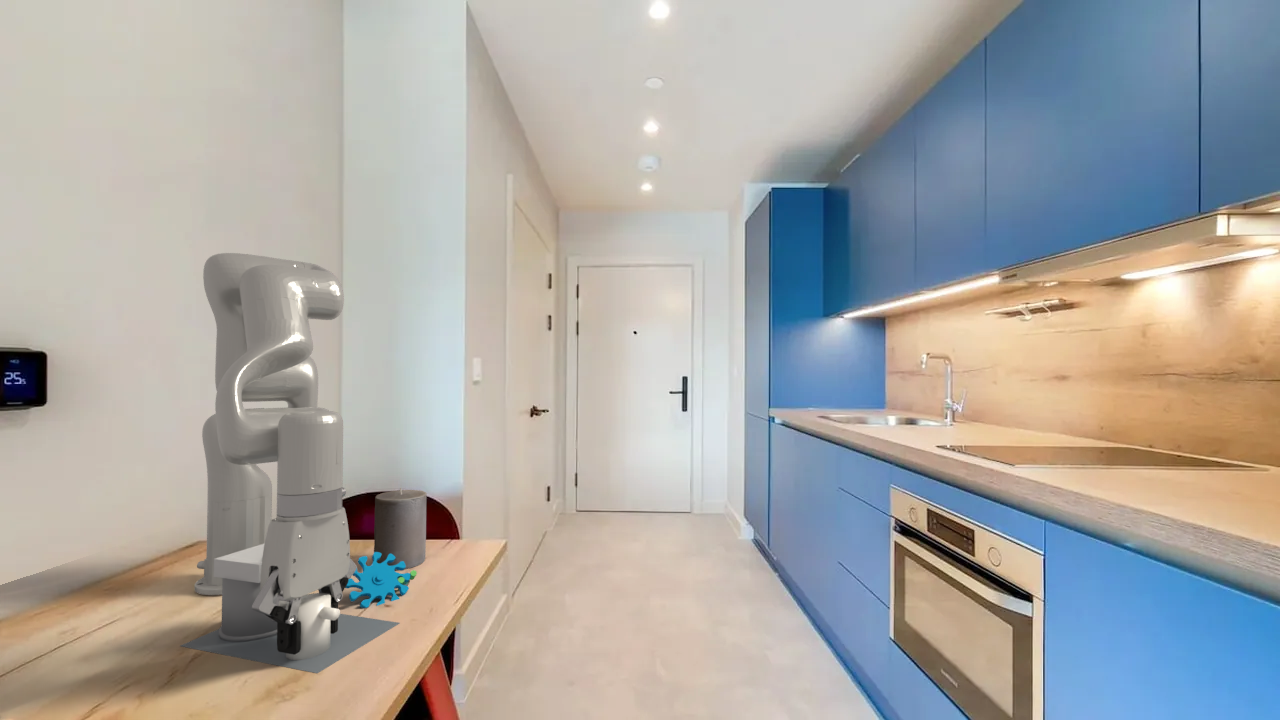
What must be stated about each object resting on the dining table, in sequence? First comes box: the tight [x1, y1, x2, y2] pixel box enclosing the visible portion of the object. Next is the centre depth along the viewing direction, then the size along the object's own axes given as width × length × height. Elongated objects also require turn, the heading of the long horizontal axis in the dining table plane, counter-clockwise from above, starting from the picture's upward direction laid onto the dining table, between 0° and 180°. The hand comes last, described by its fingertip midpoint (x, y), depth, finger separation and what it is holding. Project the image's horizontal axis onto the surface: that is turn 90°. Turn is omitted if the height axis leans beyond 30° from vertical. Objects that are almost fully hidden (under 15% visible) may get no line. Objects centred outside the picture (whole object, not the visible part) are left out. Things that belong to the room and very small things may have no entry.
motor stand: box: [179, 543, 401, 674], centre depth 76 cm, size 24×14×12 cm, turn 73°
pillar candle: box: [373, 487, 428, 571], centre depth 108 cm, size 10×10×15 cm
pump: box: [286, 592, 341, 660], centre depth 71 cm, size 7×5×6 cm
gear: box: [345, 551, 418, 609], centre depth 90 cm, size 11×6×10 cm
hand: (308, 640), depth 71 cm, fingers closed on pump, 5 cm apart
